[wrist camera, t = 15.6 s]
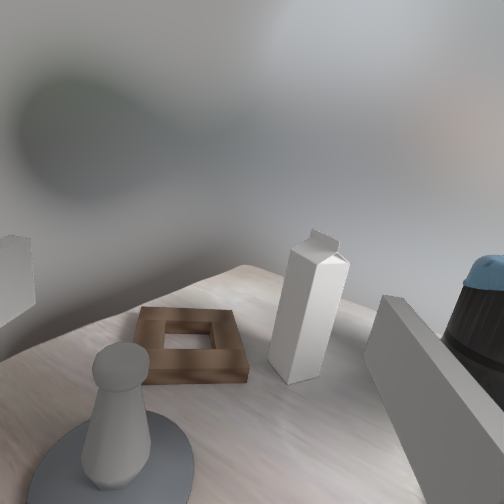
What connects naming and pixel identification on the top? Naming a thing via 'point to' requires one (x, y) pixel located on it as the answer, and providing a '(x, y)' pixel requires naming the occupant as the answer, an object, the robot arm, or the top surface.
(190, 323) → the socket block
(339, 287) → the milk
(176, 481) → the coaster
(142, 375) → the salt shaker
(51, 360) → the top surface
